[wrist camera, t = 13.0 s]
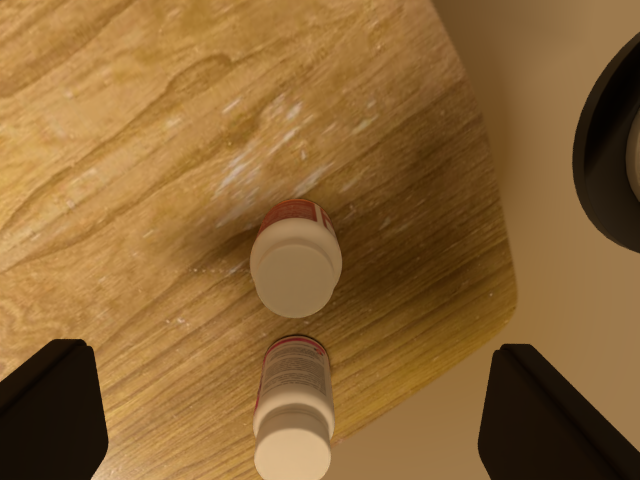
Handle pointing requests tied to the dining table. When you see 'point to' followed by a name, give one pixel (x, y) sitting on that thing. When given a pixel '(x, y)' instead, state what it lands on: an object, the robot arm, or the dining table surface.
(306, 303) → the pill bottle
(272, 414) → the pill bottle
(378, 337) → the dining table surface
